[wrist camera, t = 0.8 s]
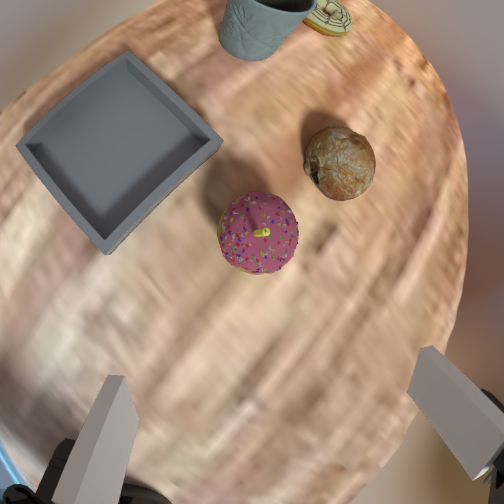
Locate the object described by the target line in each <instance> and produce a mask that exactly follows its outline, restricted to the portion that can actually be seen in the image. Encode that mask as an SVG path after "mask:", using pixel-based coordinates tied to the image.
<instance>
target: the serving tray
mask: <svg viewBox="0 0 504 504" xmlns="http://www.w3.org/2000/svg"><path fill="white" fill-rule="evenodd" d="M223 141H224V140H223V139H222V138H221V137H220V136H219V135H218V134H217V133H216V132H215V131H214V130H213V129H212V128H211V127H210V126H209V125H208V124H207V123H206V122H205V121H204V120H203V119H202V118H201V117H200V116H199V115H198V114H197V113H196V112H195V111H194V110H193V109H192V108H191V107H190V106H189V105H188V104H187V103H186V102H185V101H184V100H183V99H181V98H180V97H179V96H178V95H177V94H176V93H175V92H174V91H173V90H172V89H171V88H170V87H169V86H168V85H167V84H166V83H165V82H164V81H162V80H161V79H160V78H159V77H158V76H157V75H156V74H155V73H154V72H153V71H152V70H151V69H149V68H148V67H147V66H146V65H145V64H144V63H143V62H142V61H141V60H140V59H138V58H137V57H136V56H135V55H134V54H133V53H132V52H131V51H129V50H127V51H126V52H124V53H122V54H121V55H119V56H118V57H116V58H115V59H114V60H112V61H111V62H109V63H108V64H106V65H105V66H104V67H102V68H101V69H99V70H98V71H97V72H95V73H94V74H93V75H91V76H90V77H89V78H88V79H86V80H85V81H84V82H82V83H81V84H80V85H79V86H77V87H76V88H75V89H74V90H73V91H71V92H70V93H69V94H68V95H67V96H66V97H64V98H63V99H62V100H61V101H60V102H59V103H58V104H56V105H55V106H54V107H53V108H52V109H51V110H50V111H49V112H48V113H47V114H46V115H45V116H44V117H43V118H41V119H40V120H39V121H38V122H37V123H36V124H35V125H34V126H33V127H32V128H31V129H30V131H29V132H28V133H27V134H26V135H25V136H24V137H23V138H22V139H21V140H20V141H19V142H18V143H17V144H16V148H17V149H18V150H19V152H20V153H21V155H22V156H23V157H24V159H25V160H26V162H27V163H28V164H29V166H30V167H31V168H32V170H33V171H34V172H35V174H36V175H37V176H38V178H39V179H40V180H41V181H42V183H43V184H44V185H45V187H46V188H47V189H48V190H49V192H50V193H51V194H52V195H53V197H54V198H55V199H56V200H57V202H58V203H59V204H60V205H61V206H62V208H63V209H64V210H65V211H66V212H67V214H68V215H69V216H70V217H71V218H72V219H73V221H74V222H75V223H76V224H77V225H78V226H79V227H80V229H81V230H82V231H83V232H84V233H85V234H86V235H87V236H88V237H89V239H90V240H91V241H92V242H93V243H94V244H95V245H96V246H97V247H98V248H99V249H100V251H101V252H102V253H103V254H104V255H111V253H112V252H113V251H114V250H115V249H116V248H117V247H118V246H119V245H120V244H121V243H122V242H123V240H124V239H125V238H126V237H127V236H128V235H129V234H130V233H131V232H132V231H133V230H134V229H135V228H136V227H137V226H138V225H139V224H140V223H141V222H142V221H143V220H144V219H145V218H146V217H147V216H148V215H149V214H150V213H151V212H152V211H153V210H154V209H155V208H156V207H157V206H158V205H159V204H160V203H161V202H162V201H163V200H164V199H165V198H166V197H167V196H168V195H169V194H170V193H171V192H172V191H173V190H174V189H175V188H176V187H178V186H179V185H180V184H181V183H182V182H183V181H184V180H185V179H186V178H187V177H188V176H189V175H191V174H192V173H193V172H194V171H195V170H196V169H197V168H198V167H199V166H201V165H202V164H203V163H204V162H205V161H206V160H207V159H208V158H210V157H211V156H212V155H213V154H214V153H215V152H217V151H218V149H219V148H220V146H221V144H222V143H223Z"/></svg>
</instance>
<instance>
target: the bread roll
mask: <svg viewBox="0 0 504 504" xmlns="http://www.w3.org/2000/svg"><path fill="white" fill-rule="evenodd" d="M306 161H307V162H306V163H305V164H304V169H305V172H306V174H307V175H308V176H310V177H311V179H312V181H313V182H314V184H315V185H316V186H317V187H318V188H319V190H320V191H321V192H322V193H323V194H324V195H325V196H326V197H328V198H330V199H333V200H337V201H345V200H350V199H353V198H356V197H358V196H359V195H361V194H362V193H364V191H366V190H367V188H368V187H369V185H370V184H371V183H372V181H373V177H374V173H375V167H376V161H375V156H374V152H373V149H372V147H371V145H370V144H369V142H368V141H367V139H366V138H365V136H362V135H360V134H358V133H356V132H353V131H352V130H350V129H349V128H346V127H338V126H337V127H328V128H325V129H322V130H321V131H319V132H318V133H317V134H316V135H315V136H314V137H313V139H312V140H311V142H310V144H309V145H308V147H307V150H306Z"/></svg>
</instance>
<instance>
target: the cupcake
mask: <svg viewBox="0 0 504 504" xmlns="http://www.w3.org/2000/svg"><path fill="white" fill-rule="evenodd" d="M297 224H298V222H296V219H295V216H294V214H293V212H292V210H291V209H290V207H289V206H288V205H287V204H286V203H285V202H284V201H283V200H282V199H281V198H280V197H278V196H276V195H274V194H269V193H268V192H265V193H264V192H256V191H252V192H248V193H247V194H245V195H243V196H241V197H239V198H238V199H236V200H235V201H233V202H232V203H231V204H230V205H229V206H228V207H227V208H226V209H225V211H224V212H223V214H222V215H221V218H220V220H219V225H218V230H217V237H218V241H219V244H220V247H221V250H222V254H223V256H224V257H225V259H226V260H227V261H228V262H229V263H230V264H231V265H234V266H235V267H236V268H238V269H239V270H241V271H244V272H247V273H250V274H254V275H259V274H265V273H267V274H268V273H273V272H275V271H278V269H279V270H280V269H281V267H282V266H284V265H285V264H286V263H287V262H288V261H289V260H290V259H291V258H292V257H293V254H294V251H295V249H296V246H297V244H298V236H299V234H298V233H299V231H298V226H297Z"/></svg>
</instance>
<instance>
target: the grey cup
mask: <svg viewBox="0 0 504 504" xmlns="http://www.w3.org/2000/svg"><path fill="white" fill-rule="evenodd" d="M228 1H229V2H228V4H227V5H226V9H225V13H224V17H223V23H222V24H221V29H220V33H219V39H220V43H221V45H222V46H223V48H224V49H225V50H226V51H227V52H228V53H230V54H231V55H233V56H235V57H237V58H239V59H243V60H247V61H259V60H260V61H262V60H263V59H266V58H268V57H270V56H271V55H272V54H273V53H274V52H275V51H276V49H277V48H278V47H279V46H280V45H281V44H282V42H283V41H284V40H285V39H286V37H287V36H288V35H289V34H290V33H291V32H292V31H293V30H294V29H295V28H296V26H298V25H299V24H300V22H301V21H303V20H304V19H305V18H306V17H307V16H308V15H309V14H310V13H311V12H312V11H313V10H314V9H315V7H316V4H317V1H316V0H228Z"/></svg>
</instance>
